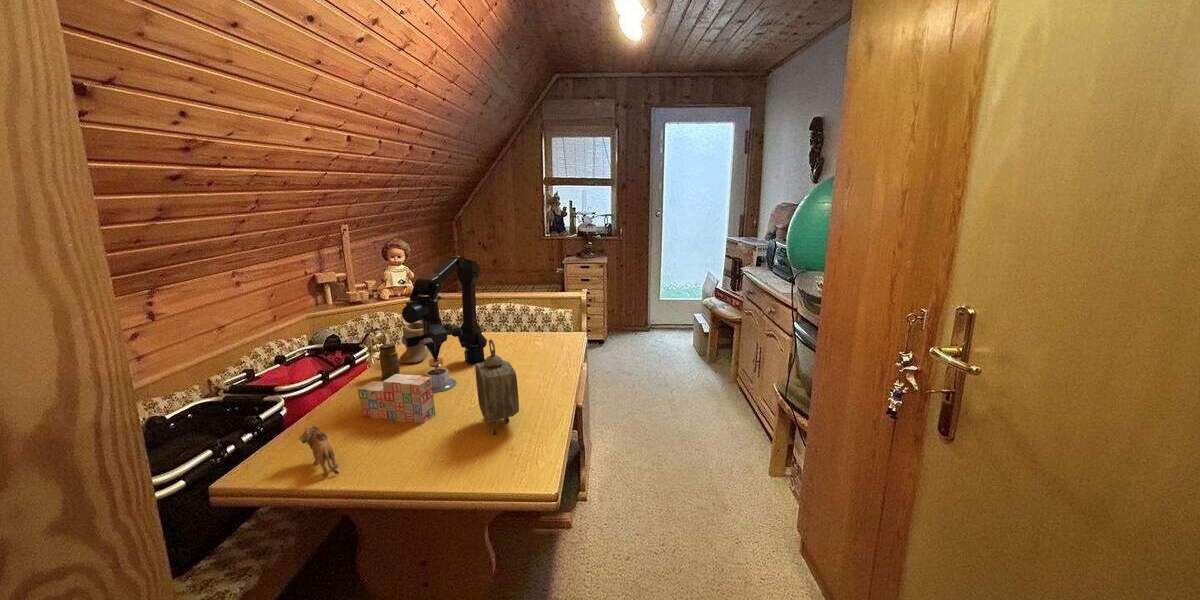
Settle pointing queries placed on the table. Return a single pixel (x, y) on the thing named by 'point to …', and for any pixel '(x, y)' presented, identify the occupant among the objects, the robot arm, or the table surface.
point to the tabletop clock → (496, 388)
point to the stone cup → (417, 351)
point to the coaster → (451, 385)
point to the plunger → (436, 363)
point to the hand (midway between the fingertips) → (435, 359)
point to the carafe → (439, 377)
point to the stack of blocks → (399, 399)
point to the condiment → (388, 361)
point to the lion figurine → (319, 448)
